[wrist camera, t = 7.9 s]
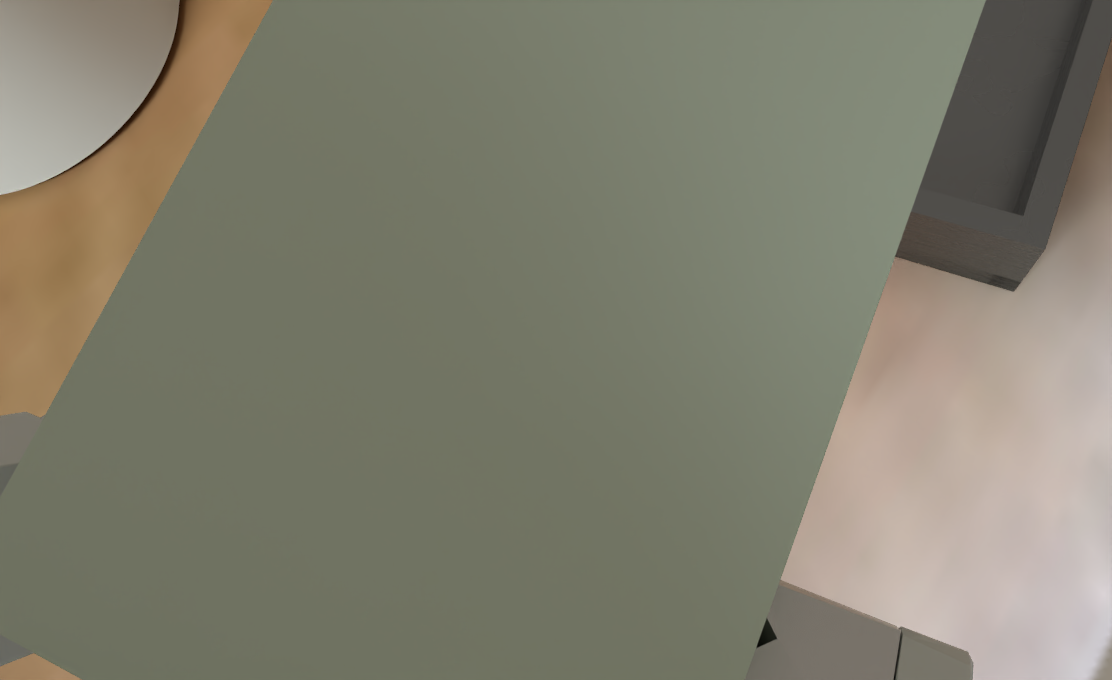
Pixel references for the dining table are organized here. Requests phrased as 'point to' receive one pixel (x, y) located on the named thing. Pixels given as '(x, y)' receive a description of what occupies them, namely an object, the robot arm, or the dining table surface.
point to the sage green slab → (482, 343)
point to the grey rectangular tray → (1008, 139)
